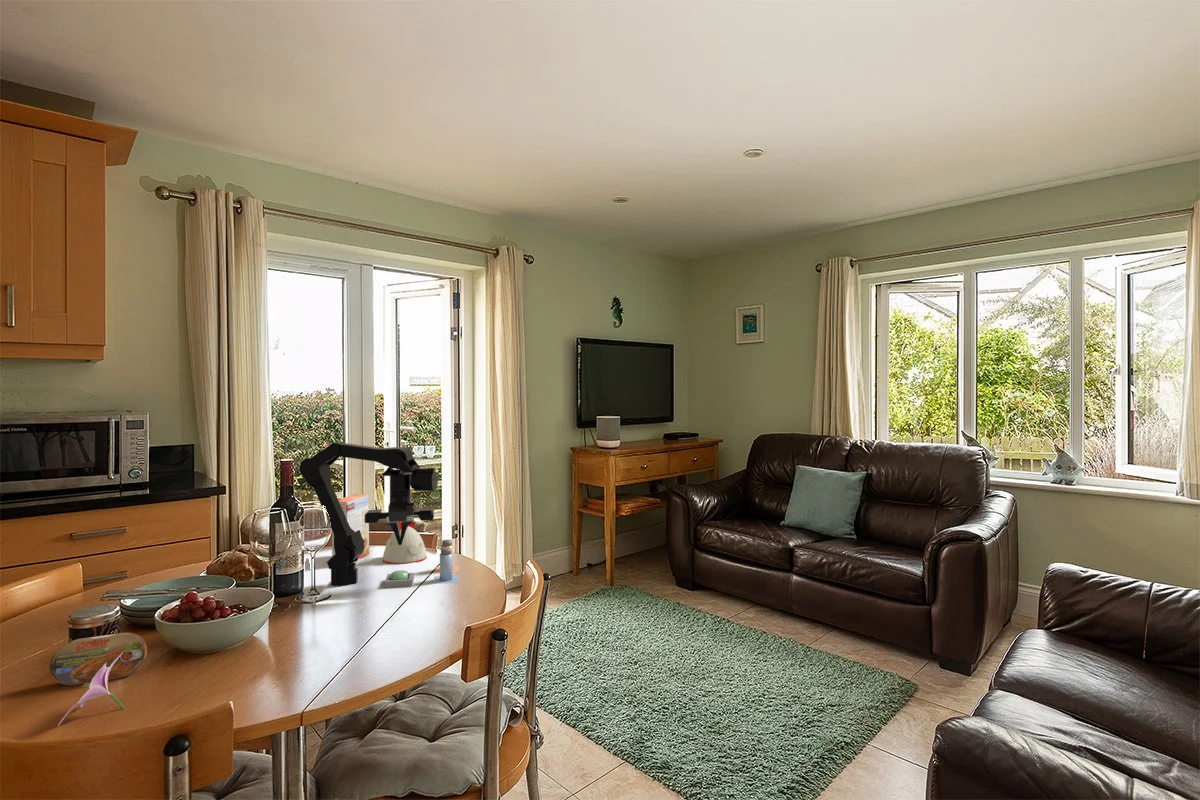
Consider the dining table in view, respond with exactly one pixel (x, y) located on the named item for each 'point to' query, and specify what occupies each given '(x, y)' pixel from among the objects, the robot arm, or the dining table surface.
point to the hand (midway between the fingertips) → (400, 544)
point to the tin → (98, 658)
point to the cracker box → (356, 518)
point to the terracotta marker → (448, 545)
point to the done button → (399, 575)
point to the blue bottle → (445, 564)
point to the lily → (97, 687)
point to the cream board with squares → (409, 581)
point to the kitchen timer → (405, 548)
